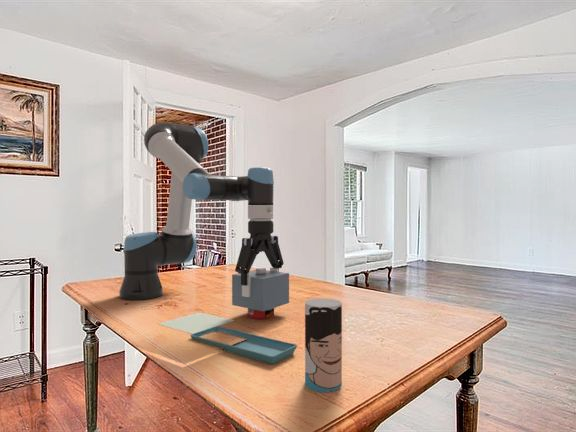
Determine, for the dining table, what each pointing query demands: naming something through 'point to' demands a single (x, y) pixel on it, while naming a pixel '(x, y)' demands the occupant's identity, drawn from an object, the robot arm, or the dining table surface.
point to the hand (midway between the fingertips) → (260, 292)
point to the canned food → (260, 313)
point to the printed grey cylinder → (323, 344)
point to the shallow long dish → (251, 345)
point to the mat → (195, 322)
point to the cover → (262, 290)
